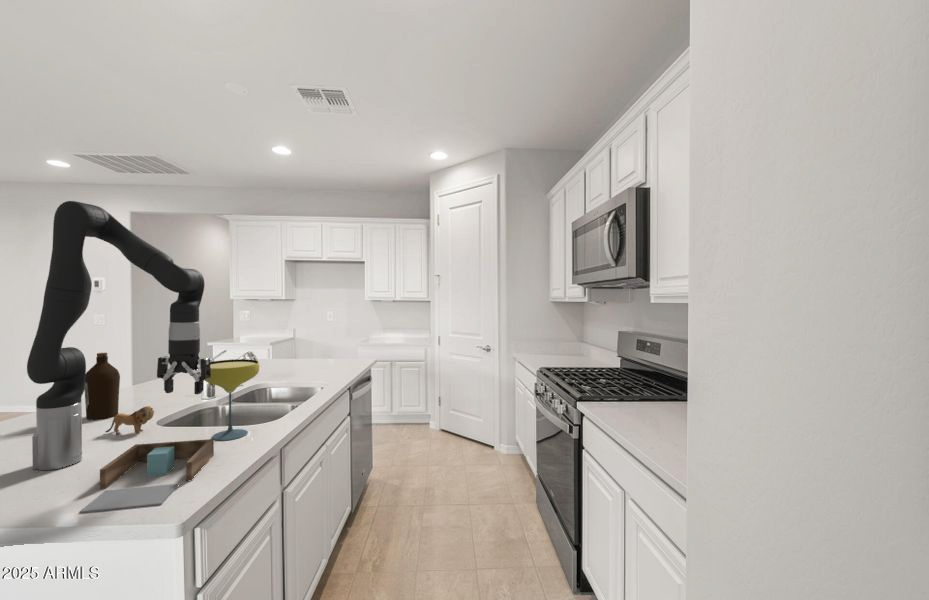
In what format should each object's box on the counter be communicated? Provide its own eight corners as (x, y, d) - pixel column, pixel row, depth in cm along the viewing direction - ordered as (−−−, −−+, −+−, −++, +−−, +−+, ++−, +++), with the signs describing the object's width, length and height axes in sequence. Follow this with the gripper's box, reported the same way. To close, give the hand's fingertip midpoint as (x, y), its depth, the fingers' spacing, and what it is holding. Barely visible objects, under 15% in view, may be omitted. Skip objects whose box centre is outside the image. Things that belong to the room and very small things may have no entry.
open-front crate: (99, 489, 104) (99, 469, 104) (135, 461, 120) (135, 444, 120) (191, 480, 109) (191, 462, 109) (213, 455, 125) (213, 439, 125)
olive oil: (121, 411, 168) (121, 350, 168) (118, 417, 160) (118, 353, 159) (86, 415, 162) (86, 352, 161) (81, 422, 153) (81, 356, 153)
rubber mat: (79, 513, 93) (79, 511, 93) (105, 492, 102) (105, 490, 102) (161, 504, 97) (161, 503, 97) (179, 485, 106) (178, 483, 106)
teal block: (147, 476, 111) (147, 454, 111) (156, 468, 116) (155, 447, 116) (166, 474, 112) (166, 453, 112) (174, 467, 117) (174, 446, 117)
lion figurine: (157, 428, 148) (157, 404, 148) (149, 433, 143) (149, 408, 143) (109, 431, 145) (109, 406, 145) (99, 436, 140) (99, 410, 139)
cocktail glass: (216, 426, 151) (216, 359, 150) (267, 426, 152) (267, 359, 152) (187, 445, 133) (187, 368, 132) (245, 444, 134) (245, 368, 134)
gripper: (150, 338, 115) (149, 395, 115) (199, 339, 114) (199, 397, 115) (170, 335, 122) (169, 389, 123) (216, 336, 122) (216, 391, 122)
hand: (183, 393), depth 119 cm, fingers open, 8 cm apart
